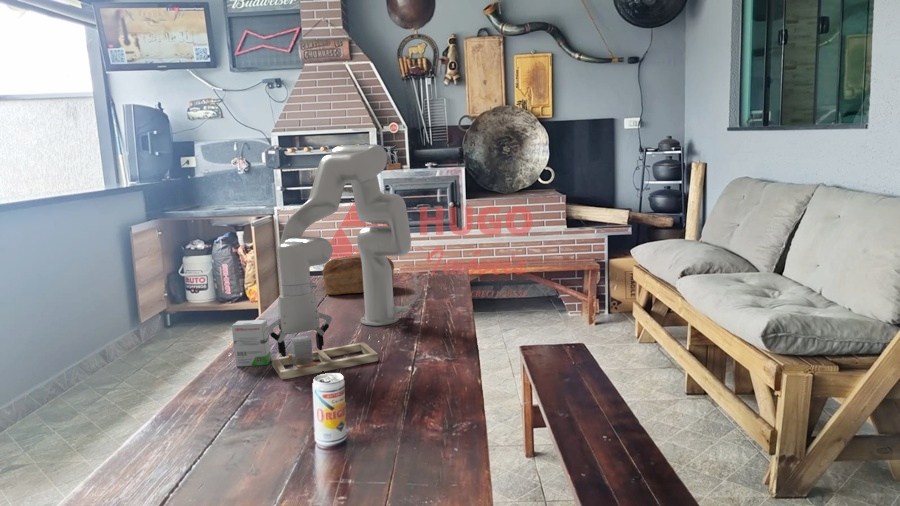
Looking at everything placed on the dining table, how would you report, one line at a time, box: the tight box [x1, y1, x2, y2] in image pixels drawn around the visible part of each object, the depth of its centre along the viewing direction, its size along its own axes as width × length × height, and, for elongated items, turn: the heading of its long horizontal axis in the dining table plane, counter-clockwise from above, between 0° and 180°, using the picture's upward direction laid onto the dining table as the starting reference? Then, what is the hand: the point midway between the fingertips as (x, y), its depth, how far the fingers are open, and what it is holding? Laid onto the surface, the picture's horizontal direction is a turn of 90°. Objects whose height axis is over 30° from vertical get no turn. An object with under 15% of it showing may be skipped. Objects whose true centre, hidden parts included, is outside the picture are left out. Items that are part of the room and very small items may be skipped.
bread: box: [322, 254, 395, 296], centre depth 256 cm, size 12×28×14 cm, turn 98°
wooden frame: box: [271, 341, 379, 380], centre depth 174 cm, size 26×12×2 cm, turn 116°
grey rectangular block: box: [289, 334, 314, 368], centre depth 171 cm, size 4×4×8 cm
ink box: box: [231, 319, 272, 368], centre depth 176 cm, size 9×5×12 cm, turn 89°
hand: (301, 352), depth 171 cm, fingers open, 9 cm apart
